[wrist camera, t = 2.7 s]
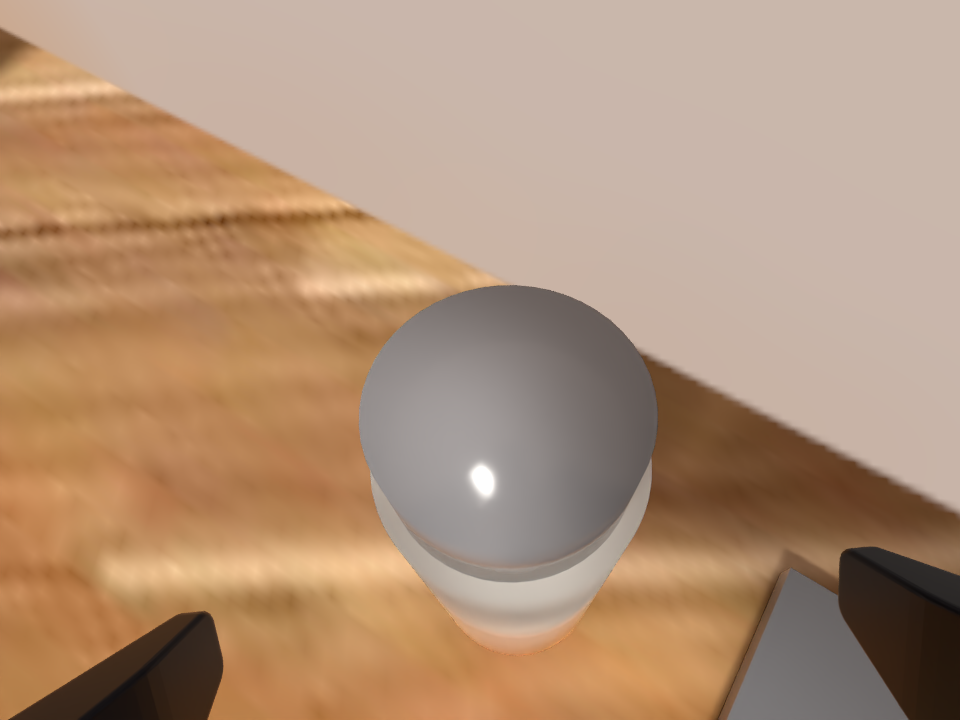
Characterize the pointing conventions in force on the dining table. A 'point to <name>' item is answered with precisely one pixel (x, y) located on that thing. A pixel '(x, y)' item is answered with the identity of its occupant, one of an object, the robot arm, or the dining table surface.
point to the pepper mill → (510, 457)
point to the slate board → (807, 663)
